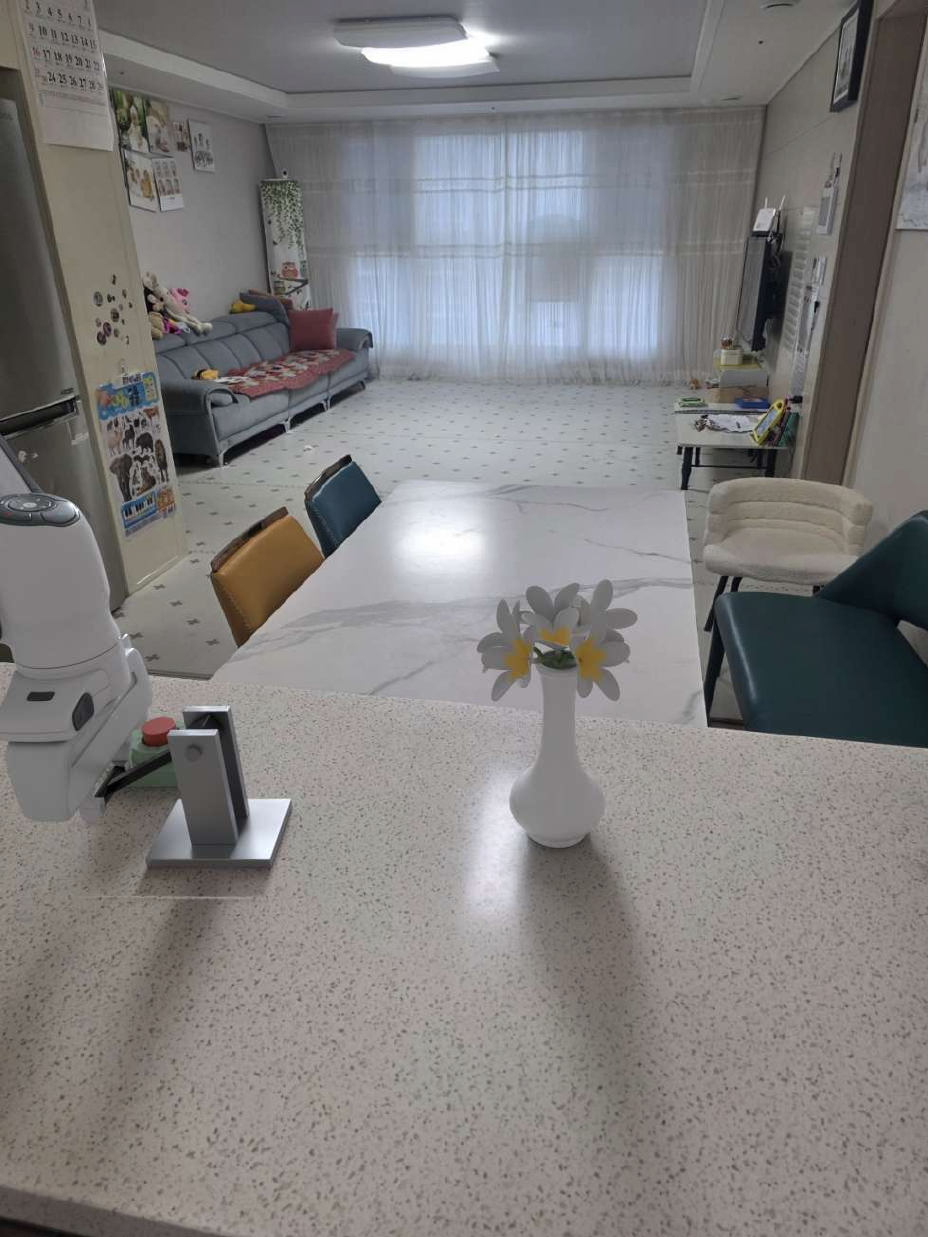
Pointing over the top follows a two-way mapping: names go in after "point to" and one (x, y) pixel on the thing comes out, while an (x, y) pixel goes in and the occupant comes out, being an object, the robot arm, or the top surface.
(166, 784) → the button box
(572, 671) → the flower vase
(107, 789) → the lever
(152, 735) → the button
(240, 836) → the bracket
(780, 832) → the top surface
